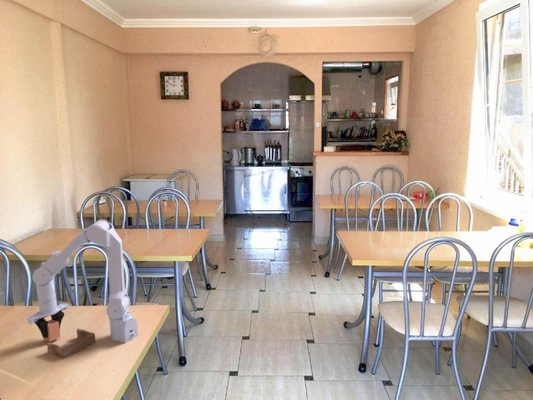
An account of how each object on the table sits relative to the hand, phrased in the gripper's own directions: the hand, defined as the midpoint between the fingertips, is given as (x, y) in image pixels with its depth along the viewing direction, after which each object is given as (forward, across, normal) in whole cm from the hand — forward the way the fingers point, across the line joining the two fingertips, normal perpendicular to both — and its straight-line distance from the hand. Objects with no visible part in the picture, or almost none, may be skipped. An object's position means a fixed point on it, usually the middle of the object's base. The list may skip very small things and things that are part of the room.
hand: (51, 334), depth 163 cm
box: (+3, 0, +11) cm, 12 cm away
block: (+1, 0, 0) cm, 1 cm away
